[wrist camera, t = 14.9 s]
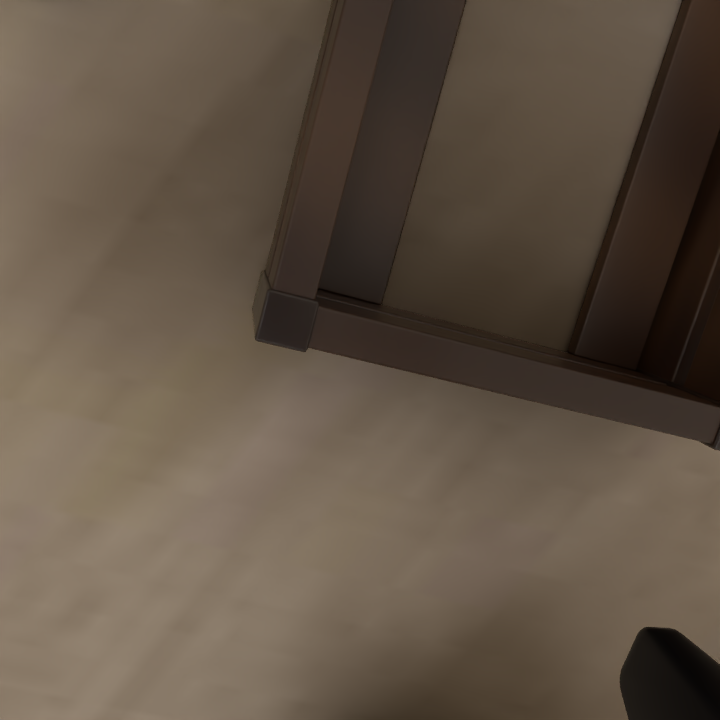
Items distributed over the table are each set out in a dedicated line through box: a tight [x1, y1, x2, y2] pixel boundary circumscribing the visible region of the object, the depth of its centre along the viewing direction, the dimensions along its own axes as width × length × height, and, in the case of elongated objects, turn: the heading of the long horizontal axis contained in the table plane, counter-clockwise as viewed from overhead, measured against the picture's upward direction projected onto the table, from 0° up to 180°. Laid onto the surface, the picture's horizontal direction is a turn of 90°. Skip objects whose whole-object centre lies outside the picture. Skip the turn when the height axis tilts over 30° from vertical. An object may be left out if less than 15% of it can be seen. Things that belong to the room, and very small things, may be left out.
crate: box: [252, 0, 720, 451], centre depth 17 cm, size 15×13×5 cm
